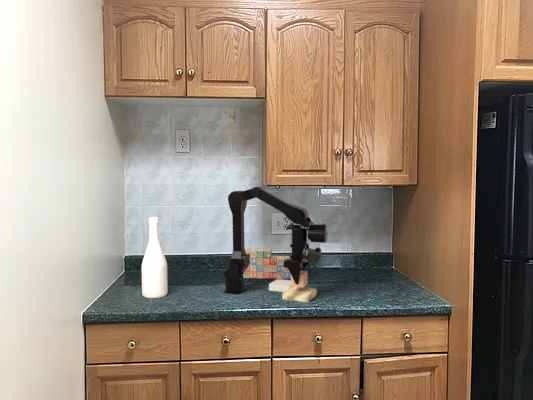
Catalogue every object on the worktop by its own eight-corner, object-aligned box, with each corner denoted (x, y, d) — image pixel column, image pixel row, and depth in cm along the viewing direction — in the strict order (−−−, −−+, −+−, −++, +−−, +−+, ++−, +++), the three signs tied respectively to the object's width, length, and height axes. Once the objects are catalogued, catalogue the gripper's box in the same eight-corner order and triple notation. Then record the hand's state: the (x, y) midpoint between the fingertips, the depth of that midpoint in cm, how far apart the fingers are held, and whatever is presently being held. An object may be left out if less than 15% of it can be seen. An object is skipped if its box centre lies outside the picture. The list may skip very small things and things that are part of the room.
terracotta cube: (290, 286, 170) (290, 272, 170) (294, 283, 175) (294, 270, 175) (303, 287, 169) (303, 274, 168) (307, 284, 173) (307, 271, 173)
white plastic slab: (268, 291, 182) (268, 283, 182) (277, 286, 190) (277, 279, 190) (290, 293, 178) (290, 286, 178) (297, 288, 187) (297, 281, 186)
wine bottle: (153, 290, 181) (152, 215, 179) (172, 293, 176) (171, 216, 175) (136, 296, 172) (135, 217, 171) (156, 300, 168) (154, 219, 166)
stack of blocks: (291, 276, 207) (291, 249, 206) (290, 279, 201) (290, 251, 200) (245, 274, 210) (245, 248, 209) (242, 278, 203) (242, 250, 203)
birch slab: (282, 300, 169) (282, 292, 169) (292, 293, 178) (292, 286, 178) (308, 303, 165) (308, 295, 165) (316, 296, 174) (316, 288, 174)
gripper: (313, 246, 159) (312, 290, 160) (326, 239, 176) (326, 278, 177) (283, 244, 163) (283, 287, 164) (298, 237, 181) (298, 276, 182)
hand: (299, 282), depth 172 cm, fingers closed on terracotta cube, 5 cm apart
